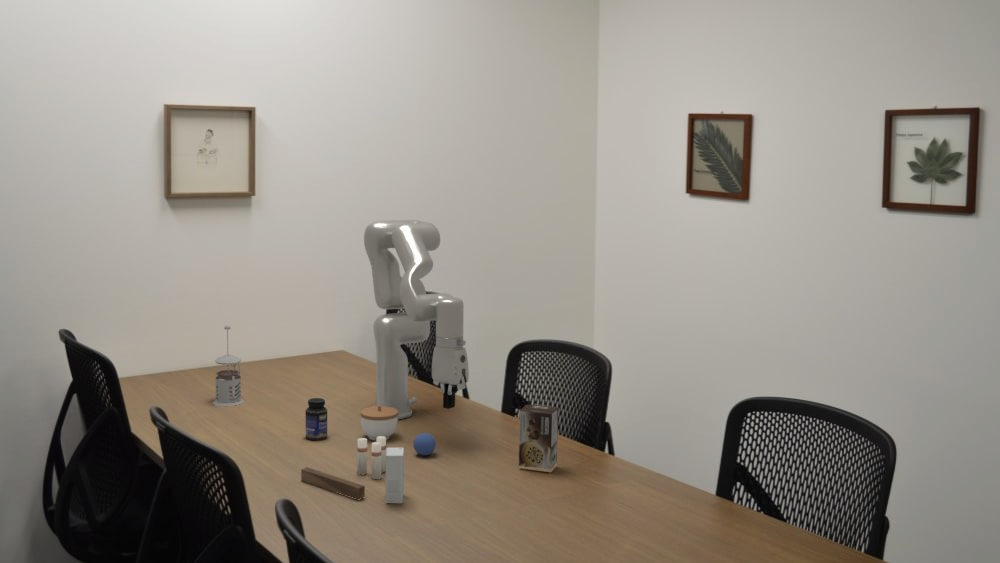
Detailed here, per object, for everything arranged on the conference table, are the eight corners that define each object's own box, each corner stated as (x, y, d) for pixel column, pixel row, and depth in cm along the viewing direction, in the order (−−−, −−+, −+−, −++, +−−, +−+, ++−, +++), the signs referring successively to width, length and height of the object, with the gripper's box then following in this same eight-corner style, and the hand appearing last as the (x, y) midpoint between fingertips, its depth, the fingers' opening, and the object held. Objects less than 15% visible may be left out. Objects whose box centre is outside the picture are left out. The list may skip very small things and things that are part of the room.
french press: (207, 405, 303) (205, 327, 300) (223, 395, 315) (222, 320, 311) (236, 407, 302) (235, 329, 298) (251, 397, 313) (251, 322, 309)
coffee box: (557, 466, 256) (559, 407, 254) (550, 474, 250) (552, 413, 248) (524, 461, 259) (526, 403, 256) (517, 469, 253) (519, 409, 250)
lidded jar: (405, 437, 276) (406, 406, 275) (376, 445, 269) (376, 413, 267) (381, 429, 284) (381, 398, 282) (352, 436, 276) (352, 405, 275)
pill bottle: (322, 441, 271) (322, 403, 269) (302, 439, 272) (301, 402, 270) (330, 435, 277) (330, 398, 275) (310, 433, 278) (310, 396, 276)
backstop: (307, 478, 242) (307, 467, 241) (364, 498, 230) (364, 486, 230) (301, 480, 240) (301, 469, 240) (358, 500, 228) (358, 488, 228)
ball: (423, 449, 266) (424, 428, 265) (440, 454, 263) (440, 433, 262) (409, 455, 261) (409, 433, 261) (425, 460, 258) (426, 438, 257)
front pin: (380, 468, 250) (381, 435, 249) (387, 471, 249) (388, 437, 247) (374, 471, 248) (374, 437, 247) (381, 473, 247) (381, 439, 245)
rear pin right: (362, 470, 248) (362, 437, 247) (369, 473, 247) (369, 439, 246) (355, 473, 246) (355, 439, 245) (362, 475, 245) (362, 441, 244)
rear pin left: (376, 475, 245) (376, 441, 244) (383, 477, 244) (383, 443, 243) (369, 478, 243) (369, 443, 242) (376, 480, 242) (376, 445, 241)
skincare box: (385, 494, 232) (386, 447, 231) (403, 494, 233) (404, 447, 231) (385, 504, 226) (385, 455, 225) (403, 504, 227) (403, 455, 225)
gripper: (479, 343, 264) (478, 409, 266) (437, 337, 272) (437, 400, 275) (462, 348, 258) (461, 414, 260) (420, 341, 266) (419, 405, 269)
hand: (449, 407), depth 267 cm, fingers closed
